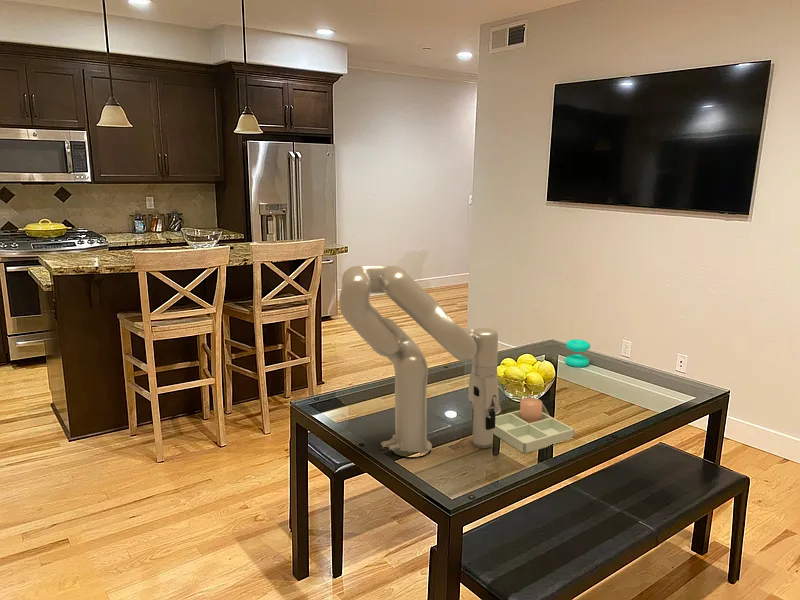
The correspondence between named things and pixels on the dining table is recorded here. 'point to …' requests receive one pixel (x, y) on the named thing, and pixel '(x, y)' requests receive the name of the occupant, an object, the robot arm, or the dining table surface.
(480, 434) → the travel mug
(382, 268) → the robot arm
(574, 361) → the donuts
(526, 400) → the peach rounded capsule
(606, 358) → the dining table surface
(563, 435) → the carrier
